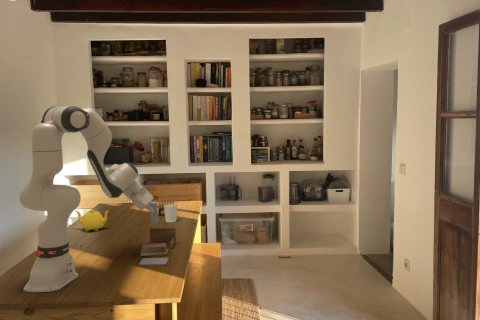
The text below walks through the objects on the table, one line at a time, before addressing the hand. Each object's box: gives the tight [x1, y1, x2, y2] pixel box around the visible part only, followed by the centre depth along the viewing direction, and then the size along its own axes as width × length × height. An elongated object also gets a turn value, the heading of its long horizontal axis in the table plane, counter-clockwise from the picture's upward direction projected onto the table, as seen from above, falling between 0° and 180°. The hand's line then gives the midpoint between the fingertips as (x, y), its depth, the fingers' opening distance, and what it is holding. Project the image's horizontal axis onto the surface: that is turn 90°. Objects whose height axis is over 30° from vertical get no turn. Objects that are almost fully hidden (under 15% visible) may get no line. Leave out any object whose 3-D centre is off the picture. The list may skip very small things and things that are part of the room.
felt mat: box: [138, 257, 170, 266], centre depth 197 cm, size 8×12×1 cm, turn 91°
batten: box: [149, 201, 159, 224], centre depth 215 cm, size 4×3×10 cm
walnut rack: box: [149, 227, 177, 249], centre depth 221 cm, size 10×13×8 cm
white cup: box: [164, 203, 178, 223], centre depth 270 cm, size 8×8×10 cm
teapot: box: [75, 209, 110, 232], centre depth 255 cm, size 20×15×12 cm
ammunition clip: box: [157, 197, 175, 217], centre depth 285 cm, size 11×2×12 cm, turn 89°
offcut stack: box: [140, 242, 169, 257], centre depth 208 cm, size 5×12×4 cm, turn 91°
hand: (155, 210), depth 215 cm, fingers closed on batten, 4 cm apart
